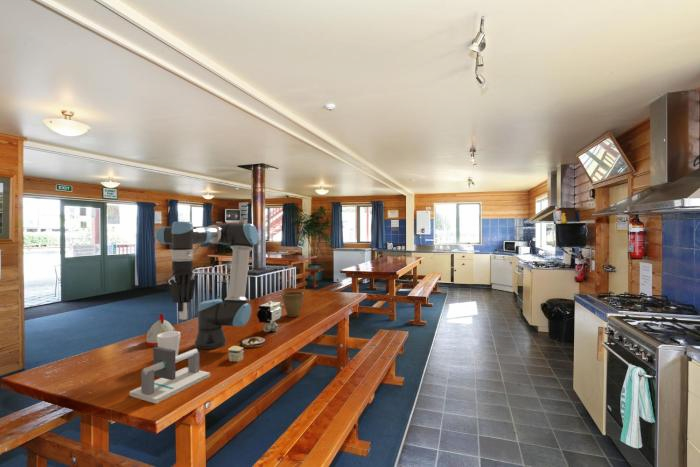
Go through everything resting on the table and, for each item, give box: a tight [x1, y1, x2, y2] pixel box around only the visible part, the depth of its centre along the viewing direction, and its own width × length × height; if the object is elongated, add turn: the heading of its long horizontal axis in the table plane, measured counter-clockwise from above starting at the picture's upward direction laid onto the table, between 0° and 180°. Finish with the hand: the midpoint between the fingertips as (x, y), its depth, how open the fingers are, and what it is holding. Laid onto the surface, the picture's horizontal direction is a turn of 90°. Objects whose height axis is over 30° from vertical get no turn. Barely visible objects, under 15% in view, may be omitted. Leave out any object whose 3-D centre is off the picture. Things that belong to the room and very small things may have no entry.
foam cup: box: [157, 330, 182, 356], centre depth 152 cm, size 10×9×13 cm
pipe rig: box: [128, 348, 211, 405], centre depth 130 cm, size 14×24×11 cm, turn 156°
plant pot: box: [282, 291, 304, 318], centre depth 238 cm, size 15×15×16 cm
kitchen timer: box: [145, 313, 176, 347], centre depth 182 cm, size 14×14×15 cm
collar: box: [152, 346, 176, 380], centre depth 127 cm, size 10×2×11 cm, turn 66°
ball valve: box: [256, 300, 283, 333], centre depth 201 cm, size 18×8×18 cm, turn 163°
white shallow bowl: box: [241, 336, 267, 349], centre depth 178 cm, size 15×15×4 cm
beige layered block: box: [227, 345, 245, 363], centre depth 157 cm, size 10×9×6 cm
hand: (183, 318), depth 135 cm, fingers closed
